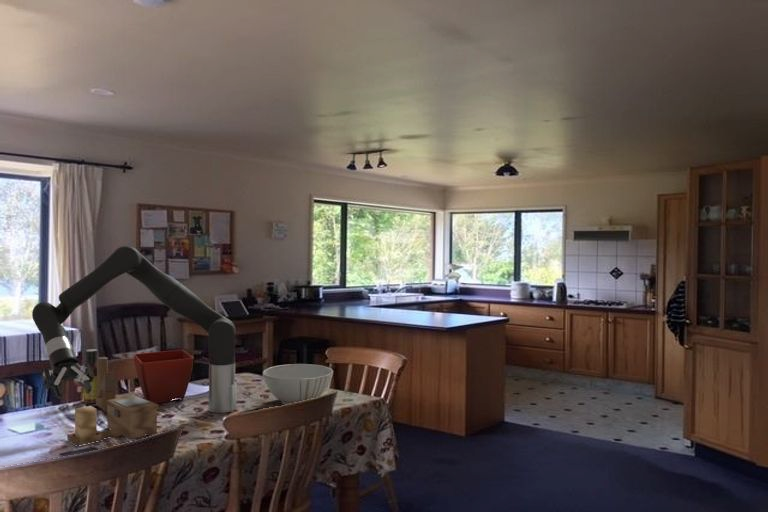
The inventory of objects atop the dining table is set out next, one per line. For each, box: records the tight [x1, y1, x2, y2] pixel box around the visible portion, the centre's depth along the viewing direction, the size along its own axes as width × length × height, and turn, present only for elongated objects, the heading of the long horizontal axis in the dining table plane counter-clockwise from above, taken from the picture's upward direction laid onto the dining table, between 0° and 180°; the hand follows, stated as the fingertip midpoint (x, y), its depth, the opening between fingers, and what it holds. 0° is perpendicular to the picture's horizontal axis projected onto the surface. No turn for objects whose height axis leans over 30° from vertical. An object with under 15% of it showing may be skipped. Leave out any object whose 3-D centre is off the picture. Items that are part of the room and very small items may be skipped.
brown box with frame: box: [66, 394, 159, 447], centre depth 195 cm, size 23×17×10 cm
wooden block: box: [95, 356, 116, 413], centre depth 225 cm, size 4×11×18 cm, turn 42°
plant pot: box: [133, 349, 194, 404], centre depth 239 cm, size 19×19×17 cm
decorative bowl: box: [262, 363, 334, 405], centre depth 236 cm, size 27×27×12 cm
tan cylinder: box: [74, 405, 98, 439], centre depth 189 cm, size 5×5×10 cm
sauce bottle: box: [82, 348, 98, 404], centre depth 233 cm, size 6×6×20 cm
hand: (74, 394), depth 194 cm, fingers open, 8 cm apart
